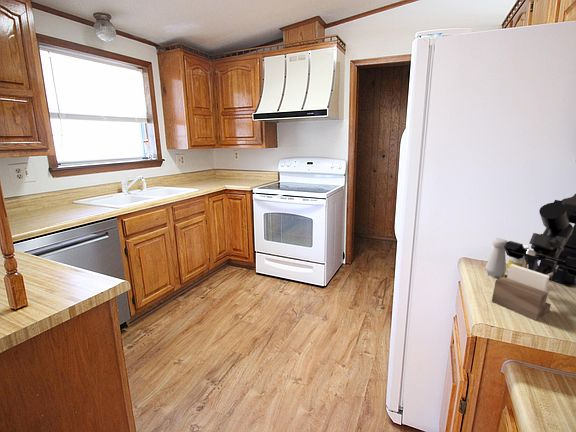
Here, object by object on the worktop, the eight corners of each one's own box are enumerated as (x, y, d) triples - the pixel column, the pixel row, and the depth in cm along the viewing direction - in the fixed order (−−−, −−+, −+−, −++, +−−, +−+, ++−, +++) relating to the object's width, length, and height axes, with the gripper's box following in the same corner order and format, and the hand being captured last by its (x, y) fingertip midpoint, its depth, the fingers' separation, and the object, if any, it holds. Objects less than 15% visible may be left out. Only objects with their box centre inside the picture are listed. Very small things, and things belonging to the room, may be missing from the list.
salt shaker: (507, 279, 104) (515, 243, 101) (488, 278, 105) (495, 242, 102) (499, 272, 110) (506, 237, 106) (481, 270, 111) (488, 236, 107)
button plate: (508, 287, 93) (513, 263, 91) (544, 301, 86) (551, 275, 84) (504, 289, 92) (509, 265, 90) (540, 304, 85) (547, 277, 83)
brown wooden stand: (505, 293, 96) (510, 272, 94) (549, 310, 87) (555, 288, 85) (491, 301, 92) (495, 280, 90) (535, 320, 83) (541, 297, 81)
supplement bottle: (517, 267, 113) (523, 242, 110) (529, 274, 108) (535, 248, 105) (503, 268, 113) (508, 242, 110) (514, 274, 108) (520, 248, 105)
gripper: (512, 215, 95) (487, 256, 92) (594, 232, 79) (567, 282, 77) (519, 235, 101) (496, 274, 98) (597, 254, 85) (571, 301, 83)
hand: (528, 282), depth 89 cm, fingers closed, pressing on button plate
